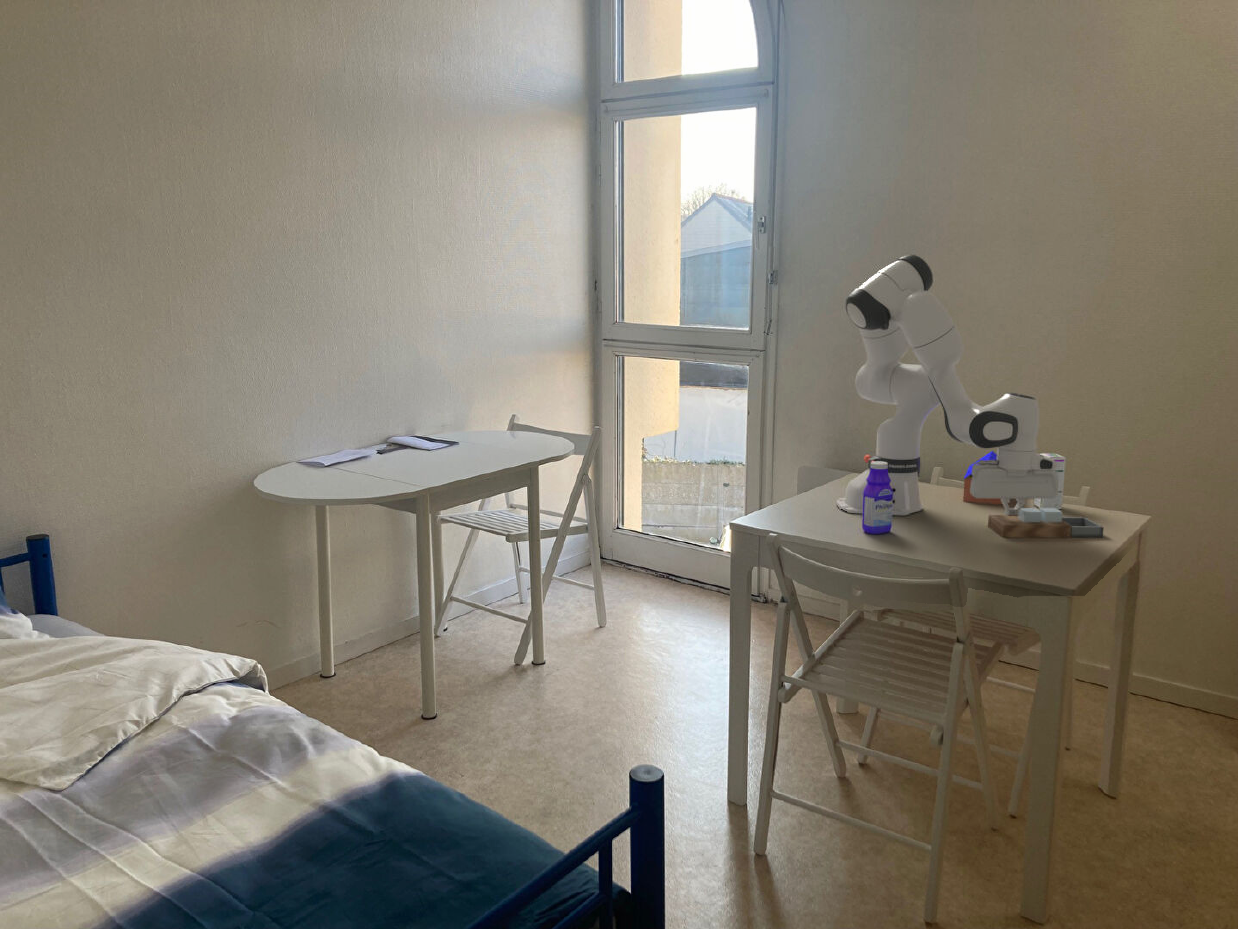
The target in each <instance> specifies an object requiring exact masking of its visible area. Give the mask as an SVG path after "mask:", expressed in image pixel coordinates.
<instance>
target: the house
mask: <svg viewBox="0 0 1238 929" xmlns="http://www.w3.org/2000/svg"><path fill="white" fill-rule="evenodd" d="M979 460H985V461H987V460H997V452H994V450H991V451H990V452H989V453H987V454H985V455H984V456H982V457H981V458H979V459H978V460H977V461H975V462H973V463H972V464H970V465H969V466H968V469H967V470H966V473H965V475H964V477H963V480H964V482H963V484H964V485H963V499H962V502H965V503H977V504H987V503H991V504H990V505H998V504H1002V502H1001V498H975V497H974V496H973V495H972V494H971V493H970V487H971V481H972V477H973V476H972V466H973V465H974V464H975V463H976V462H978V461H979ZM976 465H980V464H976ZM985 465H988V464H985Z"/></svg>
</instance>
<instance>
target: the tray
mask: <svg viewBox="0 0 1238 929" xmlns="http://www.w3.org/2000/svg"><path fill="white" fill-rule="evenodd" d="M1062 520H1063V521H1065V522H1066V523H1068V524H1070V525H1071V533H1070V537H1069V538H1103V537H1104V536H1103V535H1104V528H1105V527H1104V526H1103V525H1101V524H1098V523H1097V522H1095V521H1093V520H1091V519H1089V518H1088V517H1087V516H1084V517H1083V516H1064V517H1063V516H1062Z"/></svg>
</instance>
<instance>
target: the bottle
mask: <svg viewBox="0 0 1238 929" xmlns="http://www.w3.org/2000/svg"><path fill="white" fill-rule="evenodd" d="M866 481H867V485H866V487H865V489H864V492H863V514H861V515H862V519H861V520H862V522H861V526H862V531H864V532H865V533H866V534H867V533H868V534H870V535H880V534H881V535H882V534H885V533H889V532H891V529H892V526H893V524H892V523H893V515H892V506H893V490H892V488H891V486H890V482H891V479H890V478H889V475H888V463H887V462H883V461H874V462H871V466H870V473H869V476H868V478H867V479H866Z"/></svg>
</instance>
